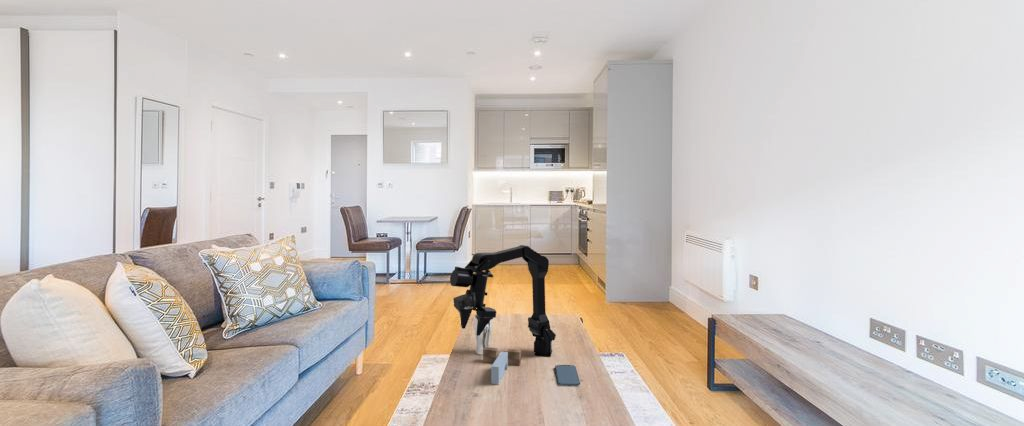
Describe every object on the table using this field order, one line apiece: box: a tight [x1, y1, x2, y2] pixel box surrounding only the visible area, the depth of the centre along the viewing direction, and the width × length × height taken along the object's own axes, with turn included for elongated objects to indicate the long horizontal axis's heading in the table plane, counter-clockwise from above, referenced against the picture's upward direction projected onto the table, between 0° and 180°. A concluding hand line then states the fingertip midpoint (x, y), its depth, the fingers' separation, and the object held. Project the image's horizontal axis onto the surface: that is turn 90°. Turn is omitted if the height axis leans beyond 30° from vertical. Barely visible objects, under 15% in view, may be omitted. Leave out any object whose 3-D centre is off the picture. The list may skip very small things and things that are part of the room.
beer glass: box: [473, 313, 493, 356], centre depth 171 cm, size 7×7×15 cm
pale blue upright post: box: [490, 351, 509, 386], centre depth 148 cm, size 2×14×6 cm, turn 168°
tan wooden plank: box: [482, 347, 522, 367], centre depth 160 cm, size 14×2×5 cm, turn 78°
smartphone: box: [554, 364, 581, 387], centre depth 148 cm, size 8×2×15 cm
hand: (470, 331), depth 151 cm, fingers open, 9 cm apart
